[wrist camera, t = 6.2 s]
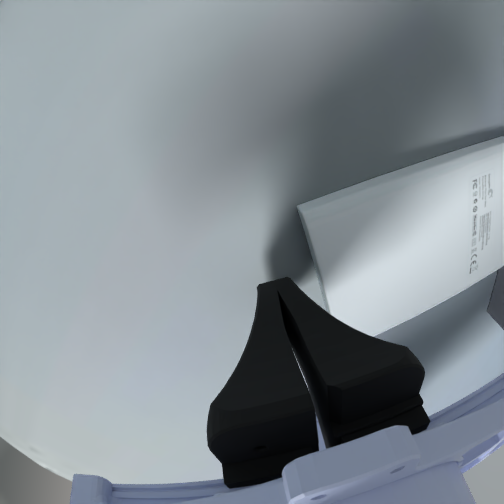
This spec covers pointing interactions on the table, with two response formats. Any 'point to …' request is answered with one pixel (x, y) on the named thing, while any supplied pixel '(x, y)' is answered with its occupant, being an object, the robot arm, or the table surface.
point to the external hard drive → (408, 237)
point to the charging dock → (498, 299)
